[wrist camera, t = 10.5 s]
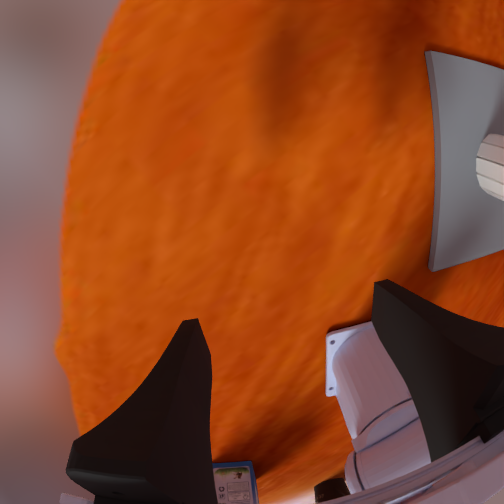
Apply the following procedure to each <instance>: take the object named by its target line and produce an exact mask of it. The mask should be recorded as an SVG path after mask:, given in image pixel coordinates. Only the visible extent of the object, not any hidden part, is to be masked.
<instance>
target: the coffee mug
mask: <svg viewBox="0 0 504 504" xmlns="http://www.w3.org/2000/svg"><path fill="white" fill-rule="evenodd" d="M314 491H315V502H316V504H317V503H321V502H325V501H329V500H333V499H337V498H340V497H344V496H347V495H351V494H350V492H349V490H348V487H347V485H346V483H345V481H344V479H342V478H338V479H332V480H328V481H325V482H322V483H320V484H318V485H316V486H315V487H314Z"/></svg>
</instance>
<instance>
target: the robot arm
mask: <svg viewBox="0 0 504 504" xmlns="http://www.w3.org/2000/svg"><path fill="white" fill-rule="evenodd" d="M332 340H333V341H332ZM211 389H212V365H211V354H210V351H209V348H208V346H207V343H206V340H205V337H204V335H203V332H202V329H201V326H200V323H199V320H198V318H197V319H191V320H184V321H182V323H181V324H180V326H179V328H178V330H177V331H176V333H175V335H174V336H173V338H172V340H171V341H170V343H169V345H168V346H167V348H166V350H165V351H164V353H163V354H162V356H161V358H160V359H159V361H158V362H157V363H156V365H155V366H154V368H153V369H152V371H151V372H150V373H149V375H148V376H147V377H146V379H145V380H144V381H143V383H142V384H141V385H140V386H139V387H138V388H137V390H136V391H135V392H134V393H133V394H132V395H131V396H130V397H129V398H128V399H127V400H126V401H125V402H124V403H123V404H122V405H121V406H120V407H119V408H118V409H117V410H116V411H115V412H113V413H112V414H111V415H110V416H109V417H108V418H106V419H105V420H104V421H102V422H101V423H100V424H99V425H97V426H96V427H95V428H93V429H92V430H90V431H89V432H87V433H86V434H84V435H82V436H81V437H79V438H78V439H76V440H75V441H74V442H73V445H72V448H71V452H70V456H69V459H68V463H67V467H66V474H67V475H68V476H69V477H70V479H71V480H73V481H74V482H75V483H77V484H78V485H80V486H81V487H83V488H84V489H86V490H88V491H89V492H91V493H93V494H94V495H95V500H94V501H91V500H89V499H85V498H82V497H77V496H74V495H70V494H66V493H62V494H61V498H60V503H59V504H218V500H217V494H216V488H215V481H214V473H213V465H212V455H211V444H210V406H211ZM334 395H336V397H337V399H338V402H339V405H340V408H341V410H342V413H343V416H344V419H345V422H346V424H347V427H348V430H349V433H350V435H351V437H352V439H353V440H352V444H353V447H354V451H352V452H351V453H349V455H348V457H347V461H346V464H345V477H346V482H347V485H348V488H349V490H350V493H351V495H347V496H344V497H340V498H337V499H333V500H329V501H325V502H321V503H317V504H483V503H484V502H485V501H487V500H488V499H490V498H491V497H492V496H494V495H495V494H496V493H498V492H499V491H500V490H501V489H502V488H504V328H503V327H497V326H493V325H488V324H485V323H481V322H478V321H474V320H471V319H468V318H465V317H463V316H460V315H457V314H455V313H452V312H450V311H448V310H446V309H444V308H441V307H439V306H437V305H435V304H433V303H431V302H429V301H427V300H425V299H423V298H422V297H420V296H418V295H416V294H414V293H412V292H411V291H409V290H407V289H405V288H403V287H401V286H400V285H398V284H396V283H394V282H392V281H390V280H388V279H386V280H382V281H378V282H374V294H373V307H372V317H371V321H370V322H367V323H363V324H359V325H355V326H352V327H348V328H344V329H340V330H336V331H332V332H329V333H328V334H327V335H326V396H334Z"/></svg>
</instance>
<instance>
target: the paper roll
mask: <svg viewBox="0 0 504 504" xmlns="http://www.w3.org/2000/svg"><path fill="white" fill-rule="evenodd" d="M482 142H483V143H481V144H480V147H479V150H478V153H477V156H478V157H477V158H476V172H477V174H476V175H477V178H478V181H479V184H480V186H481V188H482V189H483V190H484V191H485V192H486V193H487V194H490V195H492V196H494V197H496V198H498V199H500V200H502V201H504V136H503V135H499V134H489V135H488V136H487V137H486V138H485V139H484V140H483V141H482Z"/></svg>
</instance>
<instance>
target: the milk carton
mask: <svg viewBox="0 0 504 504" xmlns="http://www.w3.org/2000/svg"><path fill="white" fill-rule="evenodd" d="M212 465H213V473H214V481H215V488H216V494H217V500H218V504H259V500H258V492H257V484H256V478H255V474H254V469H253V465H252V461H242V462H229V463H212Z"/></svg>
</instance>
